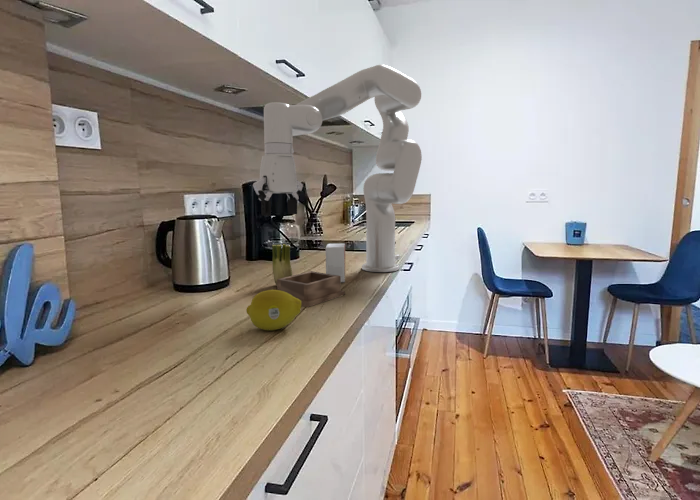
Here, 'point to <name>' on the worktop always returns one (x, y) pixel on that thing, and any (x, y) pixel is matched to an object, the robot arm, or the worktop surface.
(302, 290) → the open wooden box
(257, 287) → the worktop surface
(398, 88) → the robot arm
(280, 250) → the fennel bulb
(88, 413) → the worktop surface
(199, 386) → the worktop surface
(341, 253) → the small box
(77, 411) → the worktop surface
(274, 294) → the lemon
